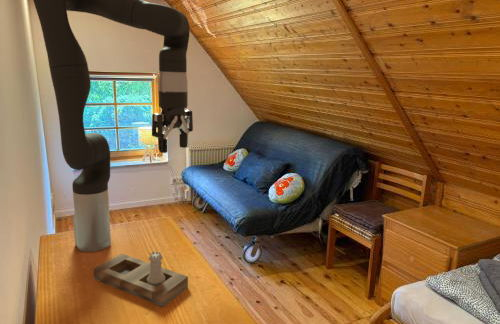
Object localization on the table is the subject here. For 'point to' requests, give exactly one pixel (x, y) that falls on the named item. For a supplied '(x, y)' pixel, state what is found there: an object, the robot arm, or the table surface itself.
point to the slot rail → (140, 279)
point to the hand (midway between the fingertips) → (173, 149)
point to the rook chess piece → (155, 270)
